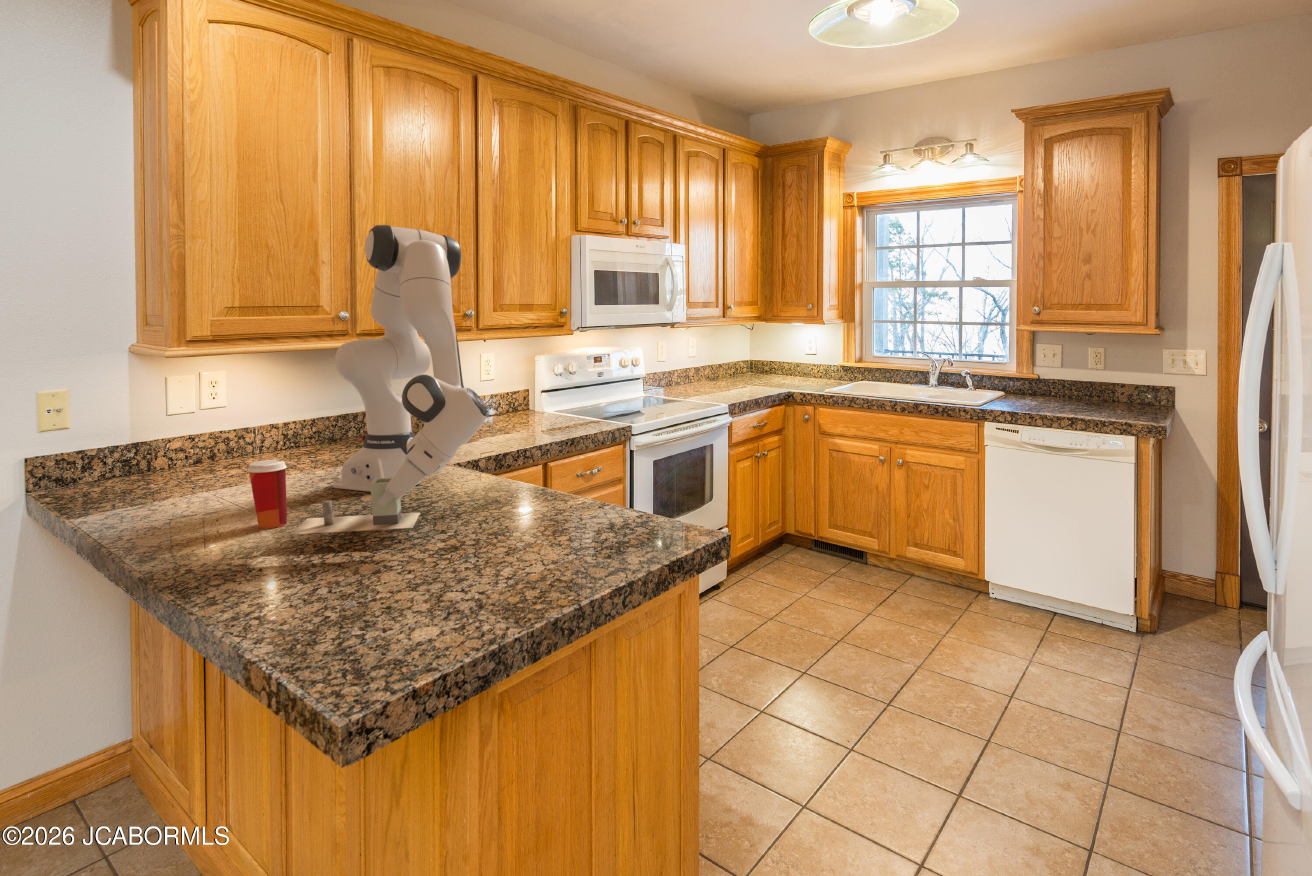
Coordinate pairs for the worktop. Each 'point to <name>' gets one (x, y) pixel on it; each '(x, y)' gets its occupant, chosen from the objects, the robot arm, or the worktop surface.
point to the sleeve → (390, 510)
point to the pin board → (349, 522)
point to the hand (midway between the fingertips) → (383, 499)
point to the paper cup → (269, 492)
